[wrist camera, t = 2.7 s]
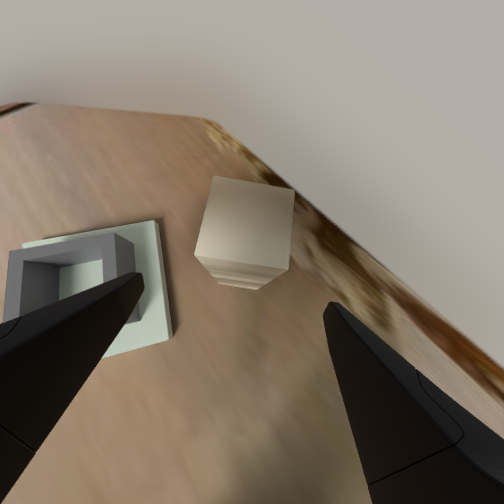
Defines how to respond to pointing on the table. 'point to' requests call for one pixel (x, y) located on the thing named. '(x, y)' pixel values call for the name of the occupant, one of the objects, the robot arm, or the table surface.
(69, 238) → the socket holder
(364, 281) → the table surface
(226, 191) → the plug block
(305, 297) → the table surface
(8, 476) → the robot arm
